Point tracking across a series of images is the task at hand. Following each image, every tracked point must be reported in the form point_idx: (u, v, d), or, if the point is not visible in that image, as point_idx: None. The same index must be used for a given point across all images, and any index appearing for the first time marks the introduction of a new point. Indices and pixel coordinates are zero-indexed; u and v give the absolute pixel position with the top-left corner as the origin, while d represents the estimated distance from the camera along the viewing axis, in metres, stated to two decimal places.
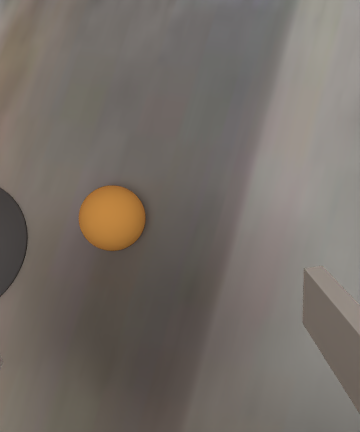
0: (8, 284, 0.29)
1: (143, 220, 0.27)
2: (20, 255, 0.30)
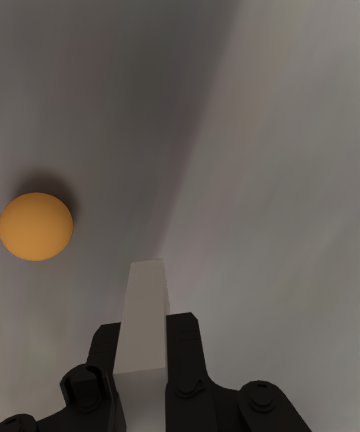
0: None
1: (70, 232, 0.26)
2: None
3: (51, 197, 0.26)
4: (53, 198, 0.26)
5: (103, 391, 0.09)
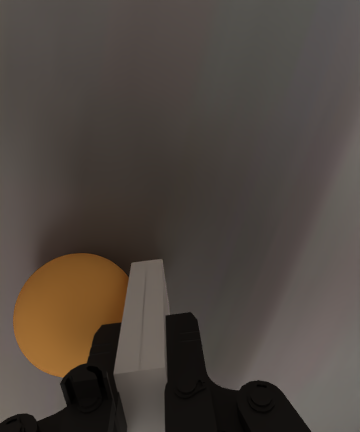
0: None
1: None
2: None
3: (103, 263, 0.15)
4: (106, 265, 0.15)
5: (104, 391, 0.09)
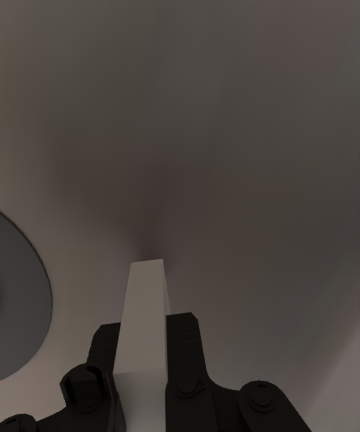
0: (38, 347, 0.19)
1: None
2: (45, 309, 0.18)
3: None
4: None
5: (103, 391, 0.09)
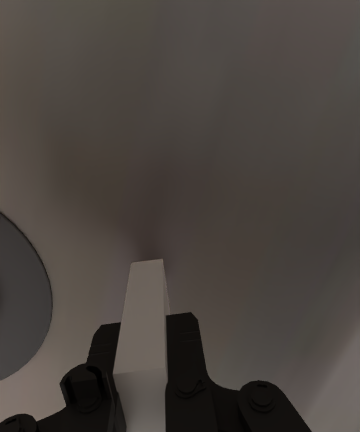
0: (38, 347, 0.19)
1: None
2: (45, 309, 0.18)
3: None
4: None
5: (103, 391, 0.09)
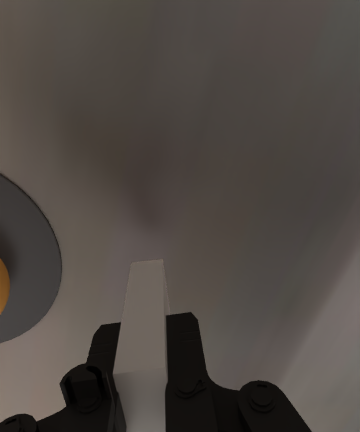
0: (48, 307, 0.21)
1: None
2: (55, 272, 0.20)
3: None
4: None
5: (103, 391, 0.09)
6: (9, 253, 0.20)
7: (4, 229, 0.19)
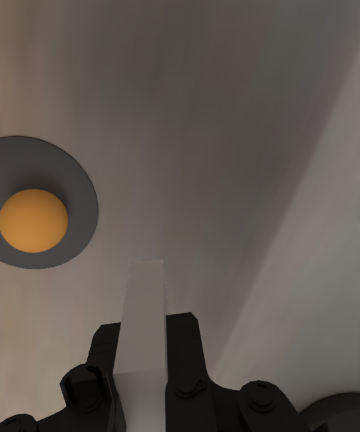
0: (88, 240, 0.32)
1: None
2: (94, 216, 0.31)
3: None
4: None
5: (103, 391, 0.09)
6: (65, 202, 0.31)
7: (63, 186, 0.30)
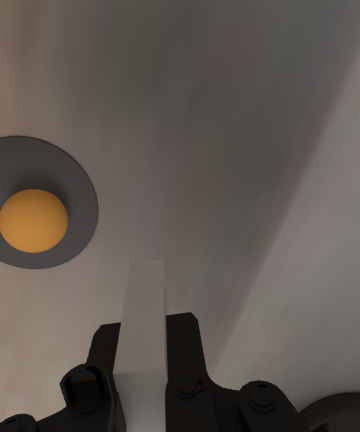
0: (88, 240, 0.32)
1: None
2: (94, 216, 0.31)
3: None
4: None
5: (103, 391, 0.09)
6: (65, 202, 0.31)
7: (63, 186, 0.30)
